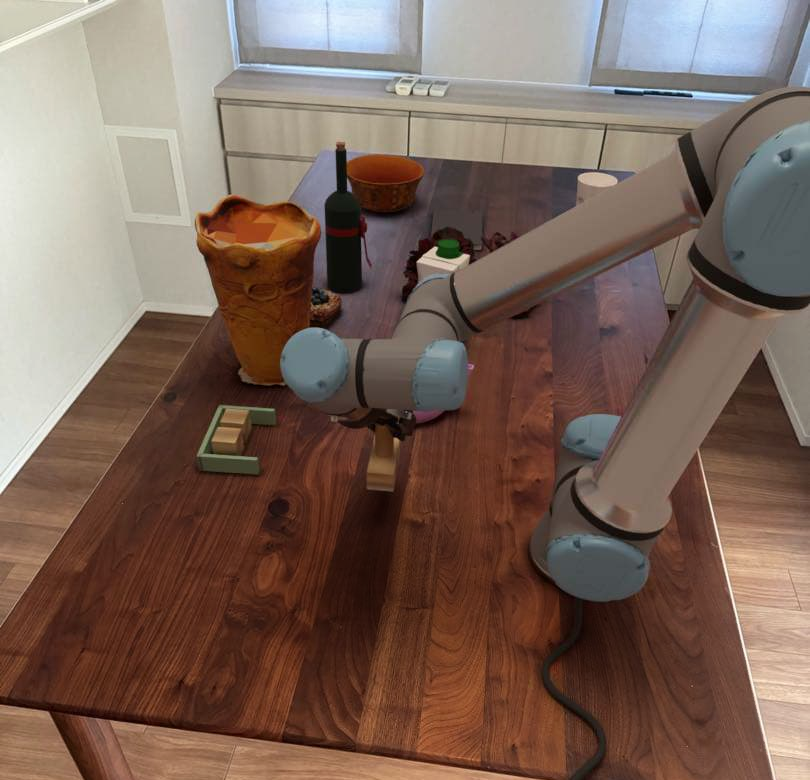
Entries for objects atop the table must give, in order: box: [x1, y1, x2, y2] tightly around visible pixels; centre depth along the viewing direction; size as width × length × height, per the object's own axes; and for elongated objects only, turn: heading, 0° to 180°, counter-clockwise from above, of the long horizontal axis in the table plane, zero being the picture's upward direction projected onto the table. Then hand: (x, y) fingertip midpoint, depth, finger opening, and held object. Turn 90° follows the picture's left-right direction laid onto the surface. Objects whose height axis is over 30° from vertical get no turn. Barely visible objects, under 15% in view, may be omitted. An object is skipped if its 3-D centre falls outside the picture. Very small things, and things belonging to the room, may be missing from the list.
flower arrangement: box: [401, 226, 531, 319], centre depth 171 cm, size 31×20×15 cm, turn 82°
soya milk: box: [416, 239, 470, 283], centre depth 154 cm, size 9×9×20 cm
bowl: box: [347, 153, 426, 213], centre depth 208 cm, size 21×21×10 cm
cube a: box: [211, 427, 245, 456], centre depth 131 cm, size 4×4×4 cm
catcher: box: [196, 404, 277, 476], centre depth 134 cm, size 15×10×3 cm
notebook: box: [430, 208, 483, 252], centre depth 200 cm, size 13×2×21 cm
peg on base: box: [366, 425, 402, 493], centre depth 117 cm, size 10×4×14 cm, turn 174°
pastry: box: [310, 286, 343, 330], centre depth 166 cm, size 11×12×6 cm
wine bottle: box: [323, 141, 373, 294], centre depth 168 cm, size 8×10×30 cm
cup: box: [575, 172, 619, 207], centre depth 206 cm, size 10×10×10 cm
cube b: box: [220, 409, 252, 444], centre depth 135 cm, size 4×4×4 cm
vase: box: [194, 194, 322, 387], centre depth 141 cm, size 21×20×30 cm
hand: (393, 429), depth 121 cm, fingers closed on peg on base, 3 cm apart
